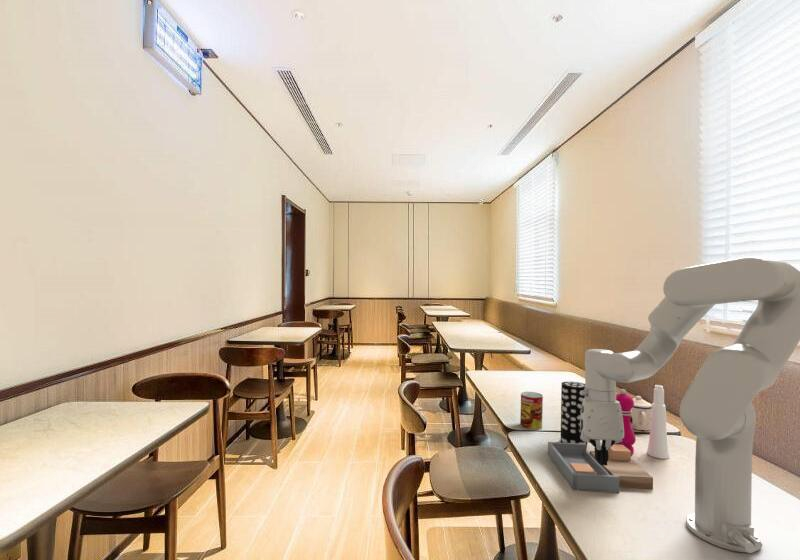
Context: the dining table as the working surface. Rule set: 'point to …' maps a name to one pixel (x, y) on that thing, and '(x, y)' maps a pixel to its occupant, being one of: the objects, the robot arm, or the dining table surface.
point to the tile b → (619, 452)
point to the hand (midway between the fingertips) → (601, 463)
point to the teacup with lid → (641, 414)
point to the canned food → (531, 410)
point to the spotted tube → (571, 412)
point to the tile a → (582, 468)
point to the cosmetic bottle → (658, 426)
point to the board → (628, 473)
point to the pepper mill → (626, 419)
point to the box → (578, 454)
